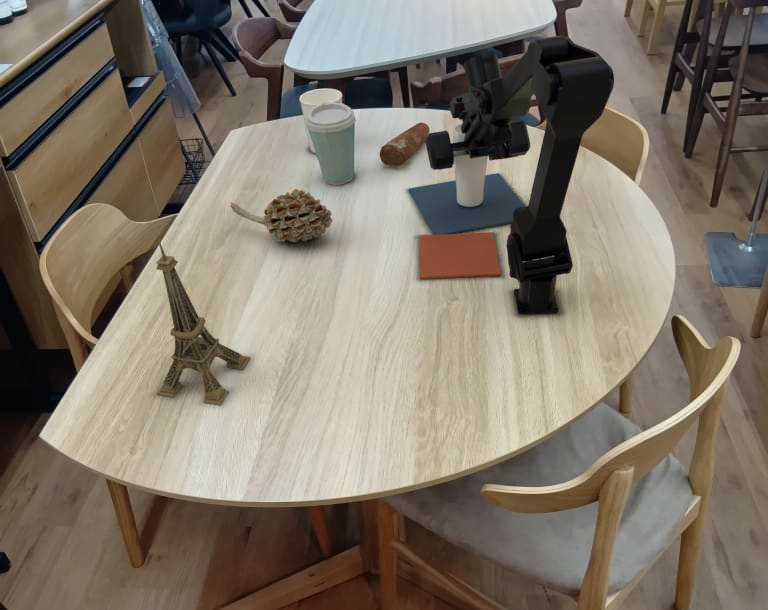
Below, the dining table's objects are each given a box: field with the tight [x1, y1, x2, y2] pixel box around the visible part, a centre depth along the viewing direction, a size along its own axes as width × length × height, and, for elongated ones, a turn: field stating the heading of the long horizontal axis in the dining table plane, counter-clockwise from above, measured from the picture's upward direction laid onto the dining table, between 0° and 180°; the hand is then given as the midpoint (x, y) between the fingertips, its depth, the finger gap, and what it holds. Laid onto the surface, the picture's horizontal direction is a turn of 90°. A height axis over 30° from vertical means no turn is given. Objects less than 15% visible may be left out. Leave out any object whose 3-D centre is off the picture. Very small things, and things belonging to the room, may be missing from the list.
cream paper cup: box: [298, 88, 343, 154], centre depth 156 cm, size 10×10×12 cm
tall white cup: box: [452, 122, 489, 207], centre depth 130 cm, size 7×7×15 cm
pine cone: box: [229, 188, 333, 243], centre depth 127 cm, size 22×10×10 cm, turn 73°
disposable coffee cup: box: [305, 102, 357, 186], centre depth 142 cm, size 11×11×15 cm
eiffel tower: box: [155, 231, 251, 406], centre depth 93 cm, size 11×11×25 cm
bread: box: [379, 122, 431, 167], centre depth 153 cm, size 6×19×6 cm, turn 153°
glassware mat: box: [408, 172, 526, 235], centre depth 135 cm, size 20×20×1 cm
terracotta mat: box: [419, 231, 501, 280], centre depth 122 cm, size 14×14×1 cm
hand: (467, 161), depth 131 cm, fingers open, 9 cm apart
